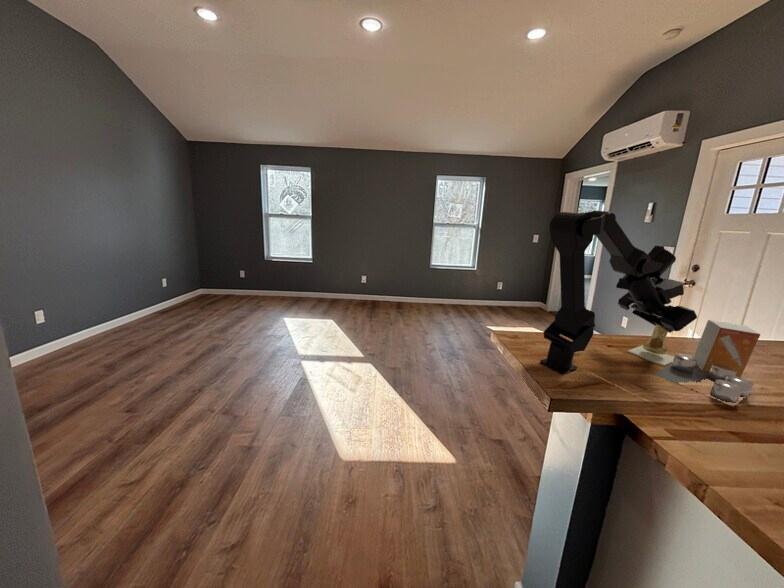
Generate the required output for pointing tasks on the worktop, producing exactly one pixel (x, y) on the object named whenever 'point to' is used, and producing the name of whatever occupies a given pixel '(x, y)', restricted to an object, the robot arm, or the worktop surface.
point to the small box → (725, 346)
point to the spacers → (717, 379)
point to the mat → (681, 375)
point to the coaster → (652, 356)
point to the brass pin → (657, 341)
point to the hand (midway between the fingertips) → (665, 329)
